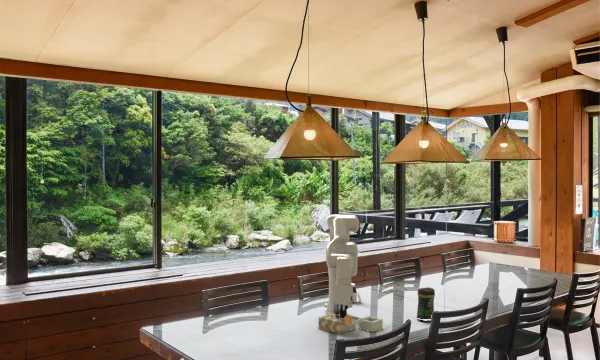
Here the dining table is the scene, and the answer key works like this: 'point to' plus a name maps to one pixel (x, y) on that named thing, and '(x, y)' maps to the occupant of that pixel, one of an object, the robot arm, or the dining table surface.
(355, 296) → the spread jar
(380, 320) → the pale green square tray
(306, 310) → the dining table surface
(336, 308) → the peg
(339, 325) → the socket block
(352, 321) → the locking fork
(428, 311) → the coffee jar
